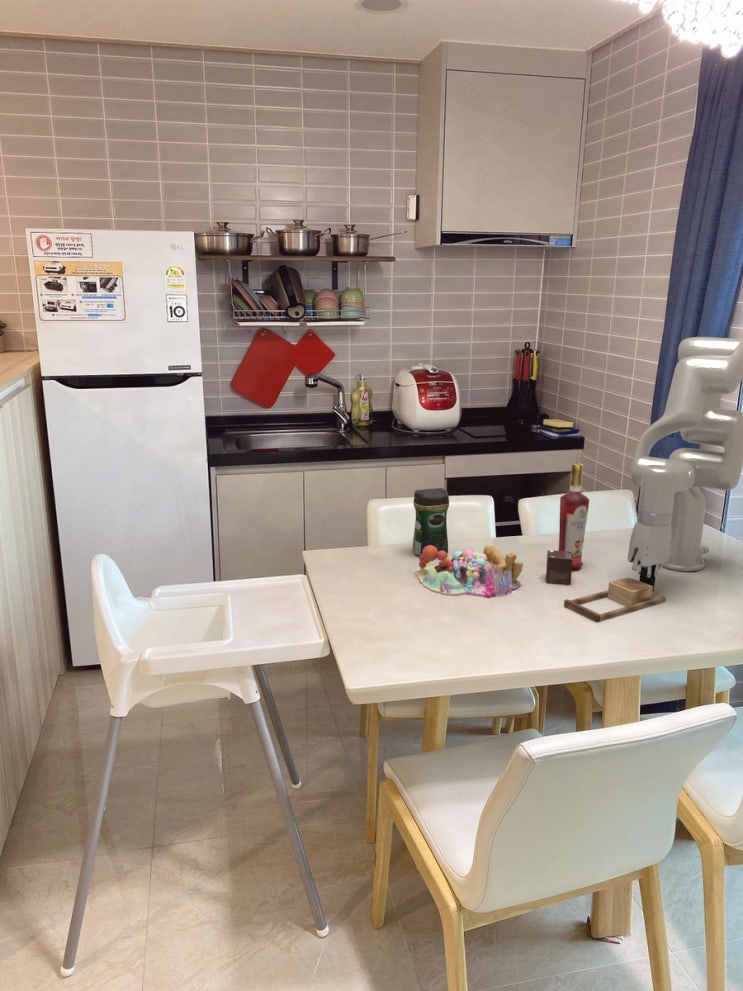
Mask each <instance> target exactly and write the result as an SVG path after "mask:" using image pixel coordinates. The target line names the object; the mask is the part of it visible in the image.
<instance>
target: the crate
mask: <svg viewBox="0 0 743 991" xmlns="http://www.w3.org/2000/svg"><path fill="white" fill-rule="evenodd" d="M607 590H608V597H606V598H607V599H609V600H611V601H614V602H615V603H618V604H621V605H622V606H624V607H627V606H630V605H633V604H637V603H640V602H644V601H647V600H650V599H653V598H652V597H653V592H652V591H653V586H651V585H648V584H646V583H643V582H641V581H639V580H638V579H635V578H633V577H630V576H628V577H623V578H620V579H615V580H611V581H609V582H608V589H607Z"/></svg>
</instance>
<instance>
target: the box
mask: <svg viewBox="0 0 743 991" xmlns="http://www.w3.org/2000/svg"><path fill="white" fill-rule="evenodd" d="M546 553H547V555H546V557H547V558H546V569H545V570H546V571H545V581H546V582H545V583H546V584H548V585H550V584H551V585H562V586H571V584H572V583H571V582H572V571H573V570H572V561H573V558H572V552H570V551H559V550H555V549H554V550H553V549H552V550H551V549H549V550H547V552H546Z"/></svg>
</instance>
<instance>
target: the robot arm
mask: <svg viewBox="0 0 743 991" xmlns="http://www.w3.org/2000/svg"><path fill="white" fill-rule="evenodd" d="M677 349H678V351H677V354H678V355H677V358H678V360H679V361H678V362H677V363H676V365H675V368H674V372H673V376H672V379H671V384H670V388H669V392H668V396H667V401H666V405H665V408H664V412H663V415H662V416H661V417H660V418H658V420H656V421H655V422H653V423H652V424H651V425H650V426H649V427H648V428H647V429H646V430H645V431H644V432H643V433H642V435H641V436H640V439H638V442H637V443H636V448H635V450H634V454H633V458H632V463H631V466H630V468H631V469H630V480H631V482H632V483H633V484H634V485H636V486H637V487H640V490H639V491H640V492H639V499H638V500H639V501H638V510H637V515H636V516H637V517H636V518H637V519H636V522H635V523H634V525H633V529H632V531H631V535H630V540H629V546H628V553H627V561H628V563H630V564H631V563H632V567H631V570H632V571H634V572H636V573H637V572H638V573H637V574H638V575H639V580H638V581H641V582H643V583H646V584H648V585H651V586H653V591H652V593H654V592H655V584H656V577H657V576H658V575H659V574H658V573H659V569H660V568H661V567H663V568H666V569H669V570H672V571H680V572H696V571H697V572H698V571H701V570H703V569H704V568H705V563H706V562H705V560H703V559H702V558H701V556H702V555H704V554H707V553H709V552H710V547H709V546H707V545H704V546H703V545H702V538H703V530H704V524H705V523H704V522H705V517H706V516H705V514H706V510H707V501H706V498H705V496H704V494H703V492H702V490H701V489H700V488H706V489H714V490H721V491H731V490H734V489H735V488H736V487H737V486H738V484H739V482H740V478H741V475H742V469H743V412H742V411H740V410H734V409H724V408H721V401H722V396H723V394H724V395H725V394H726V395H729V394H733V393H734V392H735V391H736V390H737V389H738V387H739V386H740V384H741V382H742V381H743V338H734V337H733V338H731V337H730V338H729V337H713V336H711V337H709V336H695V337H694V336H693V337H688V338H685V339H683V340H682V341H681V342H680V343H679V345H678V348H677ZM678 432H680V437H681V439H682V440H684V441H686V442H688V443H692V444H698V445H705V446H713V447H721V448H723V451H724V452H721V451H713V450H709V449H699V448H692V447H690V448H689V447H682V448H681V447H680V448H678V449H676V450H674V451H672V453H670V455H669V457H668V458H662V457H654V456H649V455H650V453H651V450H652V448H653V446H654V445H656V443H657V442H658V441H660V440H662V439H663V438H664V437H667V436H669V435H671V434H674V433H678ZM701 545H702V546H701Z"/></svg>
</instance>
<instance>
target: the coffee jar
mask: <svg viewBox="0 0 743 991" xmlns="http://www.w3.org/2000/svg"><path fill="white" fill-rule="evenodd" d="M412 504H413V507H414V510H415V523H414V532H413V540H412V552H413V554H414V555H415V556H417V557H420V556H421V555H422V551H423V549H424V548H425V547H426V546H428V545H432V546H435V547H436V548H437V550H438V552H439V551H445V552H446V553H447V554H448V553H449V538H448V526H447V518H448V517H447V515H448V514H447V513H448V509H449V508H450V507H449V506H450V495H449V492H448V490H446V489H444V488H442V487H439V488H435V487H434V488H425V489H417V490H416V489H415V491H414V494H413V503H412Z"/></svg>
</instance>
